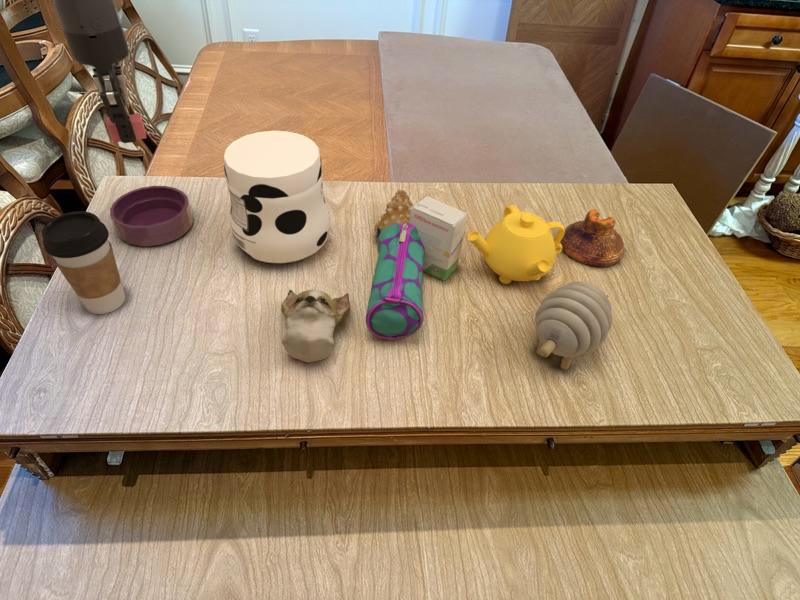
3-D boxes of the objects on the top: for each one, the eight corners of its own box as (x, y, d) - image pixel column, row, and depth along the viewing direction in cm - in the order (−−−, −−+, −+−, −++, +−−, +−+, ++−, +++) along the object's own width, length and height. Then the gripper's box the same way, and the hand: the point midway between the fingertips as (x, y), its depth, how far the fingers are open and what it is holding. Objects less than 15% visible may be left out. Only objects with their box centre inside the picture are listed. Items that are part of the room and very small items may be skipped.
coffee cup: (77, 326, 82) (35, 248, 71) (75, 290, 87) (36, 213, 76) (136, 311, 84) (104, 235, 74) (131, 278, 90) (101, 202, 79)
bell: (546, 236, 104) (556, 204, 99) (596, 224, 108) (608, 193, 102) (583, 274, 96) (596, 242, 91) (636, 259, 100) (650, 227, 95)
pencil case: (375, 256, 97) (376, 212, 90) (424, 260, 97) (429, 216, 90) (363, 343, 82) (364, 298, 75) (421, 348, 82) (427, 303, 75)
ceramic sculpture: (262, 328, 71) (283, 260, 82) (268, 372, 77) (287, 303, 88) (343, 333, 71) (352, 265, 83) (343, 376, 77) (352, 307, 88)
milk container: (341, 221, 104) (338, 134, 91) (315, 279, 92) (308, 189, 79) (255, 208, 106) (241, 121, 93) (218, 264, 93) (196, 173, 81)
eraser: (113, 143, 85) (106, 125, 83) (112, 134, 87) (106, 117, 85) (146, 138, 87) (141, 120, 85) (145, 130, 89) (140, 113, 87)
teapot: (459, 273, 95) (468, 222, 87) (493, 235, 103) (504, 185, 95) (535, 308, 89) (552, 256, 82) (564, 265, 98) (582, 214, 90)
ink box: (403, 262, 96) (408, 207, 88) (418, 248, 99) (424, 193, 91) (444, 282, 93) (454, 226, 85) (459, 267, 96) (469, 212, 88)
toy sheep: (612, 331, 86) (636, 280, 79) (572, 401, 76) (596, 350, 68) (551, 303, 90) (568, 251, 83) (505, 366, 80) (521, 314, 72)
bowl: (119, 254, 94) (111, 234, 91) (116, 212, 102) (109, 192, 99) (198, 239, 98) (192, 219, 95) (189, 200, 106) (183, 180, 103)
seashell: (369, 237, 106) (376, 186, 103) (409, 242, 108) (416, 191, 105) (375, 246, 97) (383, 190, 95) (419, 251, 99) (428, 196, 96)
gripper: (62, 8, 78) (103, 120, 91) (58, 42, 69) (104, 161, 81) (118, 4, 81) (150, 114, 93) (121, 37, 72) (156, 154, 84)
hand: (128, 136), depth 87 cm, fingers closed on eraser, 2 cm apart
